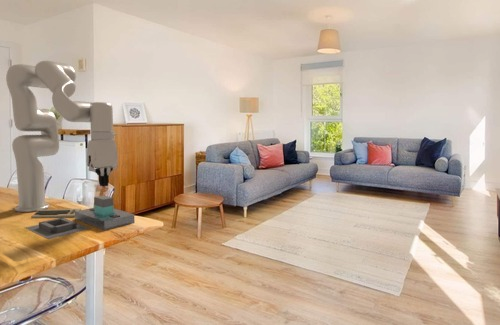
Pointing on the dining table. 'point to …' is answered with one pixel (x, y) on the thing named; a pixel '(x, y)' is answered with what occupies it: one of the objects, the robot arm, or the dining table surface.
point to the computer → (55, 213)
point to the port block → (104, 218)
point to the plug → (103, 205)
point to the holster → (57, 228)
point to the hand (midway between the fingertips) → (104, 185)
